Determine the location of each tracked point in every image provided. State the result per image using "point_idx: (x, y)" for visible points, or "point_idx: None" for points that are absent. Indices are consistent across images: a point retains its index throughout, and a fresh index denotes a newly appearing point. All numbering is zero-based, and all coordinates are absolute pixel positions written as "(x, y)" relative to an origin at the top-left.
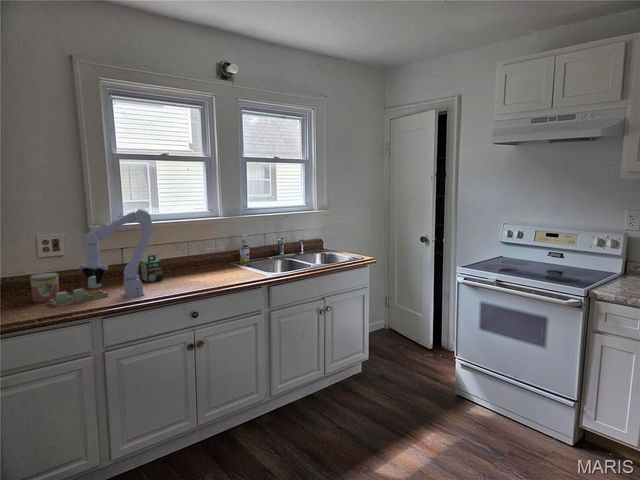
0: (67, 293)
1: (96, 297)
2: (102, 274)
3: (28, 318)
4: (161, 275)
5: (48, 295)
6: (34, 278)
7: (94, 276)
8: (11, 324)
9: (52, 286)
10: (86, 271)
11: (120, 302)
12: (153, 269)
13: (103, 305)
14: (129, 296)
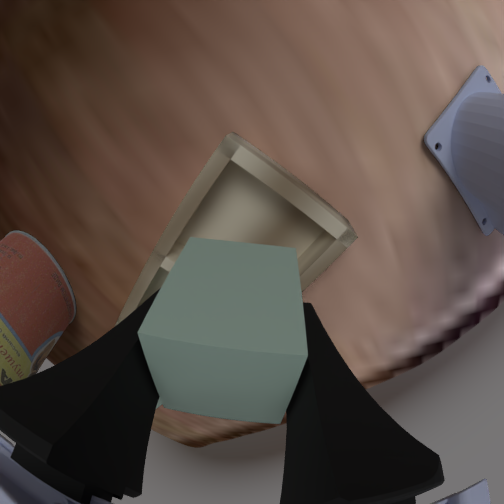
0: None
1: None
2: (369, 410)
3: (192, 431)
4: None
5: (59, 337)
6: None
7: (195, 369)
8: (193, 445)
9: (36, 357)
10: (138, 486)
11: (447, 309)
12: None
13: (379, 356)
14: (486, 226)
